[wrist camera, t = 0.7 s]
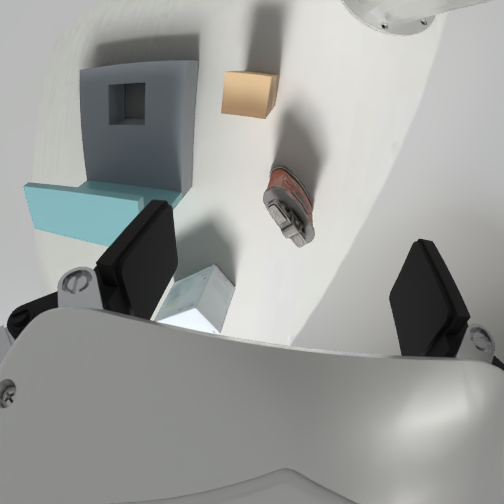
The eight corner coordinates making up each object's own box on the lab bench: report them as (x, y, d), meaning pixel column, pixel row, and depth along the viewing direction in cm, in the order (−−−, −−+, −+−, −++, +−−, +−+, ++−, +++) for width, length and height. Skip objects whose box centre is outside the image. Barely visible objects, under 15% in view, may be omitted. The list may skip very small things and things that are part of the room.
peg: (246, 70, 29) (225, 71, 21) (279, 75, 29) (271, 76, 21) (242, 101, 31) (221, 113, 23) (274, 105, 31) (265, 118, 23)
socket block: (94, 67, 29) (9, 88, 17) (202, 60, 28) (134, 62, 16) (100, 175, 40) (34, 228, 28) (195, 187, 39) (144, 254, 27)
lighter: (318, 206, 38) (322, 249, 30) (298, 218, 40) (296, 262, 32) (285, 160, 35) (279, 192, 27) (264, 173, 37) (252, 209, 29)
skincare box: (213, 261, 47) (194, 308, 39) (236, 287, 50) (222, 334, 42) (172, 281, 52) (151, 323, 44) (194, 303, 55) (177, 346, 46)
